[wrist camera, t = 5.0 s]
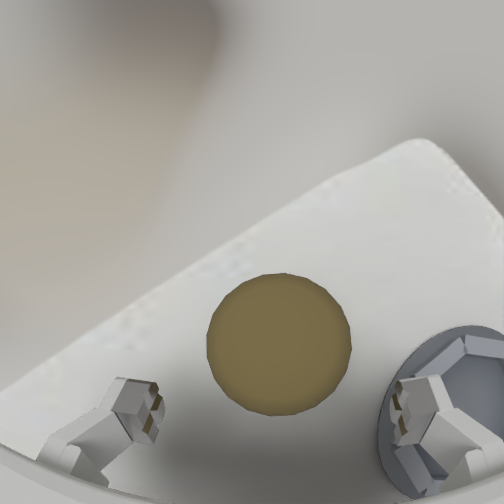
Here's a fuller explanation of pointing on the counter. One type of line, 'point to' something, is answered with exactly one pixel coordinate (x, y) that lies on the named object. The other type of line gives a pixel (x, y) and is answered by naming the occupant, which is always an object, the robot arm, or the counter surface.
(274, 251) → the counter surface
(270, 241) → the counter surface
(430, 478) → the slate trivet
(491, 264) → the counter surface
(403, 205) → the counter surface
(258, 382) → the olive brown pepper mill
